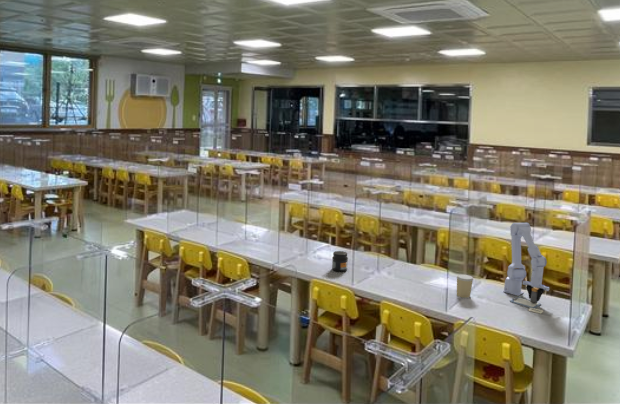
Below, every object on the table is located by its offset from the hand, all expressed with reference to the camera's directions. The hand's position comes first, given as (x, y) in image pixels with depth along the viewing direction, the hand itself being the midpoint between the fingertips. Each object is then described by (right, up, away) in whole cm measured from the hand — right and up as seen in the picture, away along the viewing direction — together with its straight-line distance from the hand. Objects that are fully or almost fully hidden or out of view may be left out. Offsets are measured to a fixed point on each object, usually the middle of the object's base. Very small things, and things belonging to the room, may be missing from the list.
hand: (534, 299), depth 304 cm
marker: (0, -2, 0) cm, 2 cm away
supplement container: (-110, +10, +51) cm, 122 cm away
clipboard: (-4, -3, +2) cm, 5 cm away
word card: (-3, -5, -9) cm, 11 cm away
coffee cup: (-38, 0, +10) cm, 40 cm away
